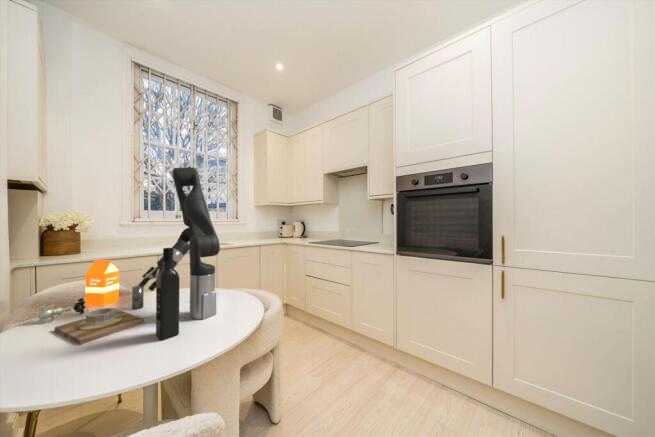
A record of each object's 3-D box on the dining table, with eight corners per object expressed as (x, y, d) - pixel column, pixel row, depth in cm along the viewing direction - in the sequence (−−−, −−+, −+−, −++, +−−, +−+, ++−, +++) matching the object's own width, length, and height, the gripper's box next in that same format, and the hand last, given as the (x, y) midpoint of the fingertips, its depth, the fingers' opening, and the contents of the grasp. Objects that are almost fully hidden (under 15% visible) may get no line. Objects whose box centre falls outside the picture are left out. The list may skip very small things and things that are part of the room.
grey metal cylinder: (145, 307, 107) (145, 286, 107) (134, 310, 104) (135, 288, 104) (140, 305, 109) (140, 285, 109) (129, 308, 105) (130, 287, 105)
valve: (39, 326, 88) (85, 315, 98) (39, 308, 88) (85, 299, 98) (36, 322, 91) (80, 312, 102) (36, 305, 91) (80, 296, 102)
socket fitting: (144, 322, 92) (144, 308, 92) (80, 344, 76) (80, 327, 76) (117, 313, 100) (117, 300, 100) (54, 331, 84) (54, 315, 84)
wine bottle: (161, 341, 78) (162, 249, 78) (154, 336, 82) (155, 248, 82) (180, 334, 83) (181, 248, 83) (173, 329, 86) (174, 246, 86)
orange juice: (103, 306, 108) (103, 262, 108) (84, 305, 108) (85, 261, 108) (119, 300, 115) (119, 259, 115) (102, 300, 116) (102, 258, 116)
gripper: (156, 253, 120) (129, 282, 110) (174, 256, 114) (147, 286, 103) (167, 262, 125) (142, 290, 114) (185, 265, 118) (160, 295, 108)
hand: (144, 288), depth 109 cm, fingers open, 8 cm apart
